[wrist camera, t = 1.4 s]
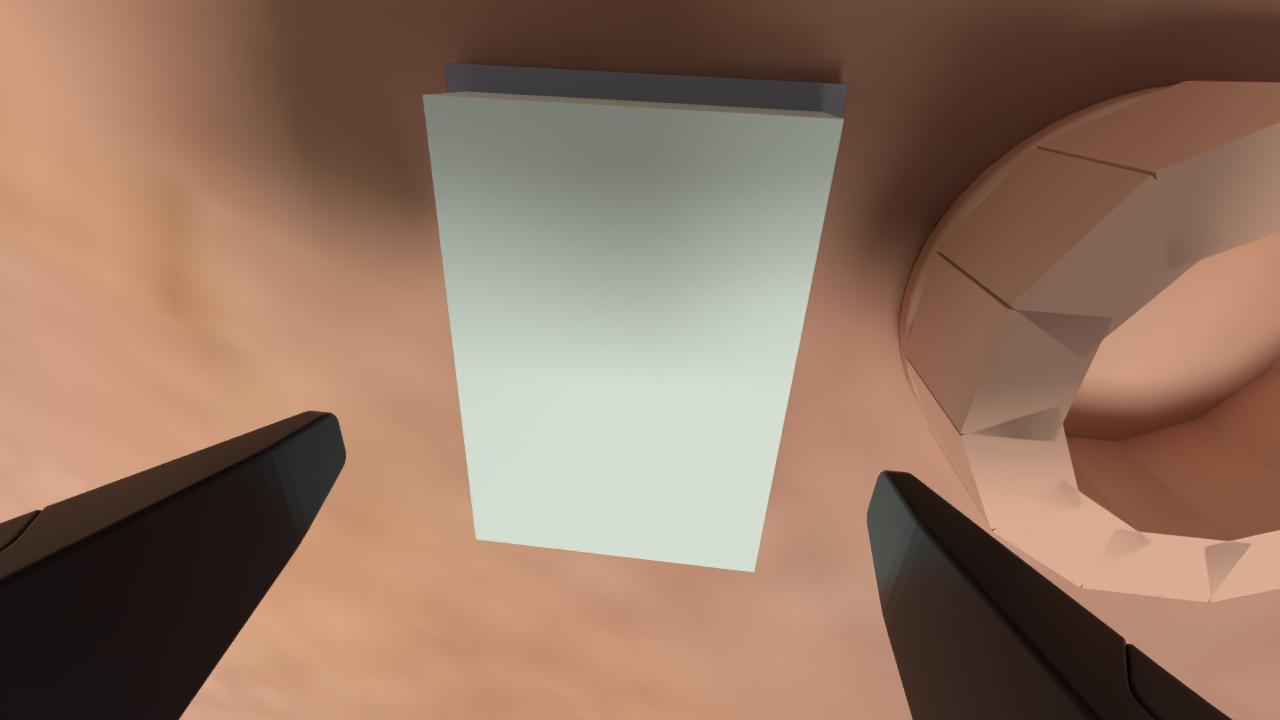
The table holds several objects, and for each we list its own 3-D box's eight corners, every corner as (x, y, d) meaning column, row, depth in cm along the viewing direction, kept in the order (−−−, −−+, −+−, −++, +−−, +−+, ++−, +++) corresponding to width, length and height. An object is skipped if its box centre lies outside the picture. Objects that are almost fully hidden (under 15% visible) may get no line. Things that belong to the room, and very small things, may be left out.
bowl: (1479, 96, 10) (1909, 109, 7) (1219, 483, 15) (1393, 623, 11) (967, 70, 11) (1097, 69, 7) (860, 447, 15) (909, 567, 12)
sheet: (821, 111, 11) (844, 119, 9) (749, 515, 16) (754, 572, 14) (466, 91, 11) (422, 94, 10) (501, 488, 16) (476, 539, 15)
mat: (839, 83, 11) (848, 84, 11) (758, 511, 17) (760, 530, 16) (459, 63, 12) (444, 62, 11) (498, 482, 17) (489, 500, 17)
